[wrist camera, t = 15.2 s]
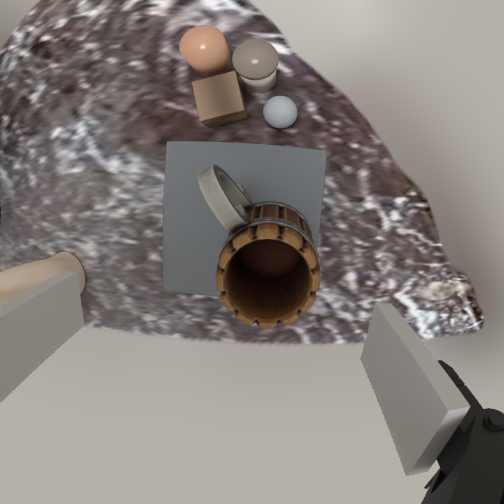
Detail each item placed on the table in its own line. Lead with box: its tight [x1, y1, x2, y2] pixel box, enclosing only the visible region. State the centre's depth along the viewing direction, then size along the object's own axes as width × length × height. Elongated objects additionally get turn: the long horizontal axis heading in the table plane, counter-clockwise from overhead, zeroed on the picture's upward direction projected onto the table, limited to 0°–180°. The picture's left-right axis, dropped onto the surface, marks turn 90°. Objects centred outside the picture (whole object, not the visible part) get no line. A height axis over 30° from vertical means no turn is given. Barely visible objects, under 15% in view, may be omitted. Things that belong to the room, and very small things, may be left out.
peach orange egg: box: [179, 25, 233, 78], centre depth 30 cm, size 5×5×7 cm
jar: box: [232, 39, 278, 93], centre depth 30 cm, size 5×5×7 cm
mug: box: [198, 164, 321, 328], centre depth 30 cm, size 16×11×15 cm
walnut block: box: [192, 71, 248, 128], centre depth 32 cm, size 5×5×5 cm
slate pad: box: [163, 141, 327, 297], centre depth 38 cm, size 20×20×1 cm
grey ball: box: [263, 96, 297, 128], centre depth 32 cm, size 4×4×4 cm
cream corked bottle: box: [0, 252, 85, 306], centre depth 28 cm, size 10×9×28 cm
